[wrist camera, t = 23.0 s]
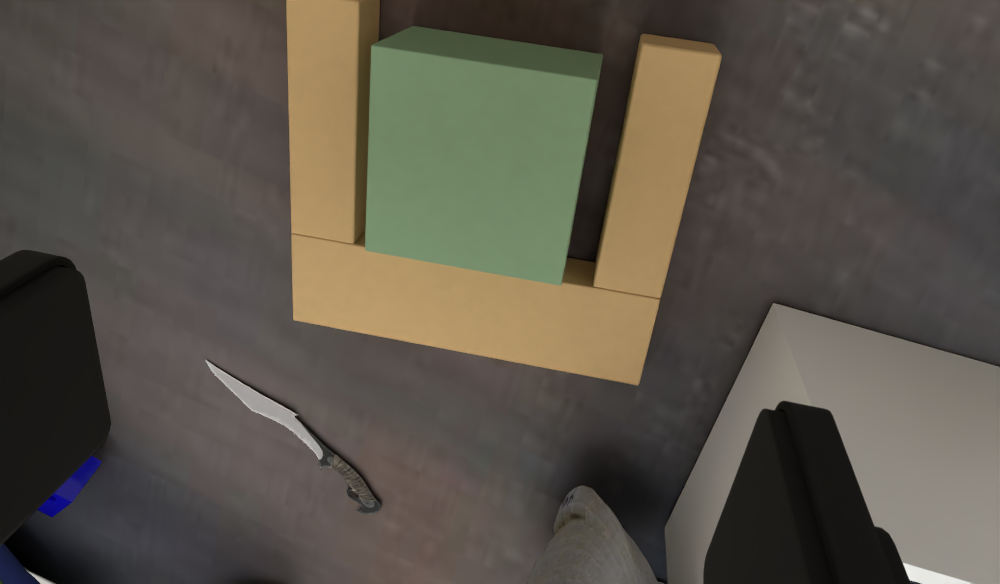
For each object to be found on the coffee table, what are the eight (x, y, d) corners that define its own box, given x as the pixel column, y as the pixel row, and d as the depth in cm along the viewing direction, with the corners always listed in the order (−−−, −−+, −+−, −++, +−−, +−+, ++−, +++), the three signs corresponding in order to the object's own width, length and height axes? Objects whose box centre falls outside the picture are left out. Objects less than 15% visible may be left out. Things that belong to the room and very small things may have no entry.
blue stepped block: (-51, 330, 30) (-61, 359, 33) (-122, 397, 28) (-126, 423, 30) (123, 433, 33) (100, 452, 35) (72, 502, 30) (51, 517, 33)
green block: (412, 25, 22) (370, 44, 19) (603, 54, 22) (597, 79, 18) (401, 205, 25) (364, 251, 22) (571, 234, 25) (560, 286, 21)
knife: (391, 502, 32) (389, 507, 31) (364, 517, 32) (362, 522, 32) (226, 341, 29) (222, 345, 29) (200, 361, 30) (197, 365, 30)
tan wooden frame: (312, -16, 22) (285, -10, 20) (715, 43, 21) (723, 54, 19) (314, 295, 27) (292, 320, 26) (638, 355, 26) (638, 386, 25)
